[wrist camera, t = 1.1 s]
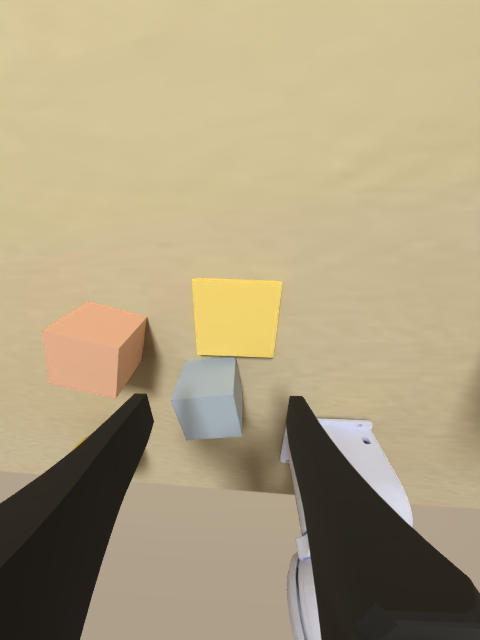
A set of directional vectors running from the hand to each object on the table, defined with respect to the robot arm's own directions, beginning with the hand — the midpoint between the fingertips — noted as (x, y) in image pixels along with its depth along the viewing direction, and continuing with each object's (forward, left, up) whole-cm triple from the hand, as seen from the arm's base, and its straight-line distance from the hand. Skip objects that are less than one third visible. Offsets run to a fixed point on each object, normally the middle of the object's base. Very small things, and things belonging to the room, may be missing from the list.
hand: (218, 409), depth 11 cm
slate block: (+1, +7, -10) cm, 12 cm away
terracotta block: (+10, +2, -10) cm, 14 cm away
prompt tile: (-1, 0, -9) cm, 9 cm away
